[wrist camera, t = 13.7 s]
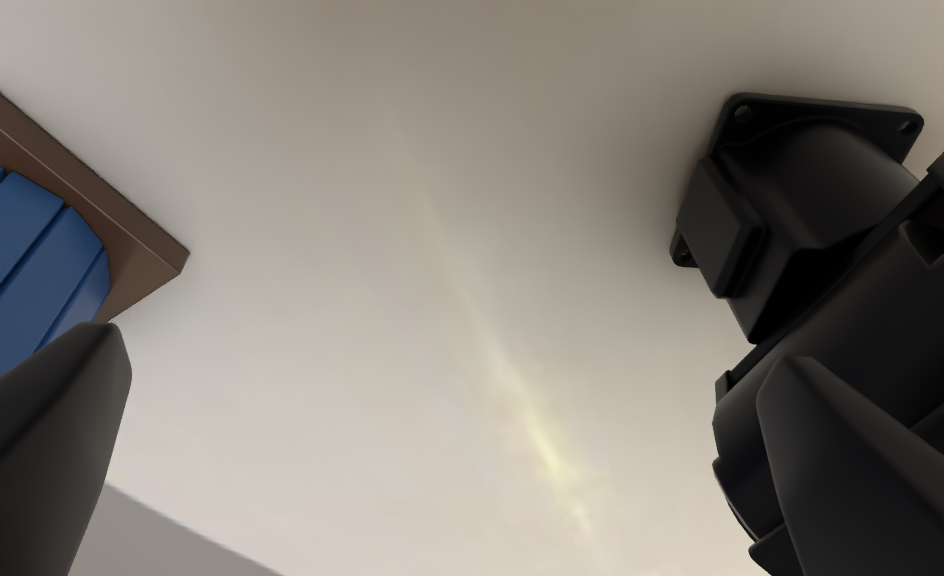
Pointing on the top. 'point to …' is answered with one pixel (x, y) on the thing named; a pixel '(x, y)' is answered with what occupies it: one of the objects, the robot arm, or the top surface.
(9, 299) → the blue ribbed vase
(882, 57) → the top surface
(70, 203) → the stand
